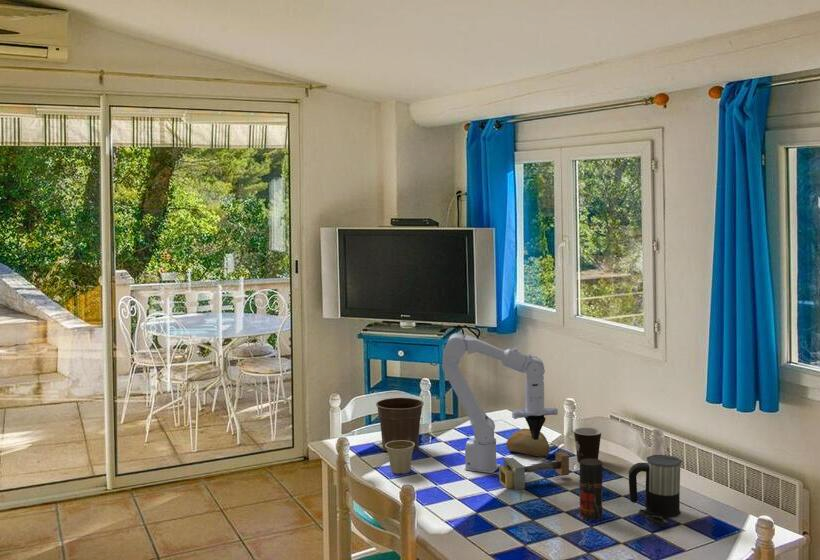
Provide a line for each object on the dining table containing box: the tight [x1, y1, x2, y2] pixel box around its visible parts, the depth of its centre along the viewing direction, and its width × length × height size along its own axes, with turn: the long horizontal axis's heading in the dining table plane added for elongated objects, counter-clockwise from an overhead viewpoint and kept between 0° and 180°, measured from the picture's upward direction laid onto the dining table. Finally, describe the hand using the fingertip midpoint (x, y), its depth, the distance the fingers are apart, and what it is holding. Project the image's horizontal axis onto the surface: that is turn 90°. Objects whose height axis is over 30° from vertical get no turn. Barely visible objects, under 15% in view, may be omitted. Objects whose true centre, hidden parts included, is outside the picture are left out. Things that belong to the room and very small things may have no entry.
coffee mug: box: [573, 427, 602, 464], centre depth 279 cm, size 12×9×10 cm
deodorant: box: [579, 458, 603, 521], centre depth 232 cm, size 6×6×15 cm
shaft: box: [522, 451, 570, 477], centre depth 261 cm, size 16×4×6 cm, turn 105°
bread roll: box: [505, 428, 550, 458], centre depth 287 cm, size 10×15×8 cm, turn 61°
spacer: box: [498, 465, 514, 489], centre depth 258 cm, size 2×6×5 cm, turn 15°
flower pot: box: [385, 440, 415, 475], centre depth 272 cm, size 9×9×9 cm
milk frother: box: [628, 454, 683, 528], centre depth 230 cm, size 14×16×15 cm
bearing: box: [503, 457, 526, 490], centre depth 258 cm, size 3×9×6 cm, turn 15°
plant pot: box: [375, 397, 424, 452], centre depth 295 cm, size 16×16×16 cm
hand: (535, 438), depth 270 cm, fingers closed
